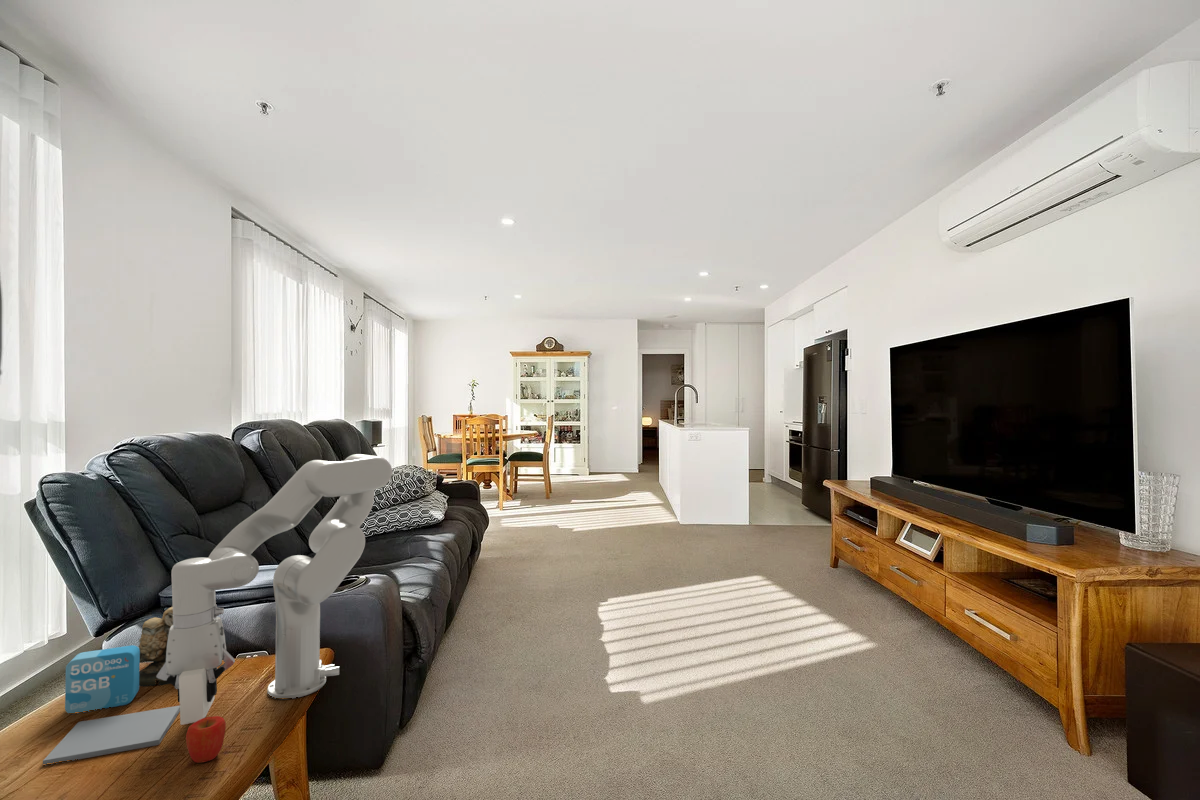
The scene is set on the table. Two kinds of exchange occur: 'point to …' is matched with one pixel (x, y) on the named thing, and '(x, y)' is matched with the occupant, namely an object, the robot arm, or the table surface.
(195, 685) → the slab
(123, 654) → the data package
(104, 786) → the table surface
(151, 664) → the owl figurine
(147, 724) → the board
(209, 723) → the apple
